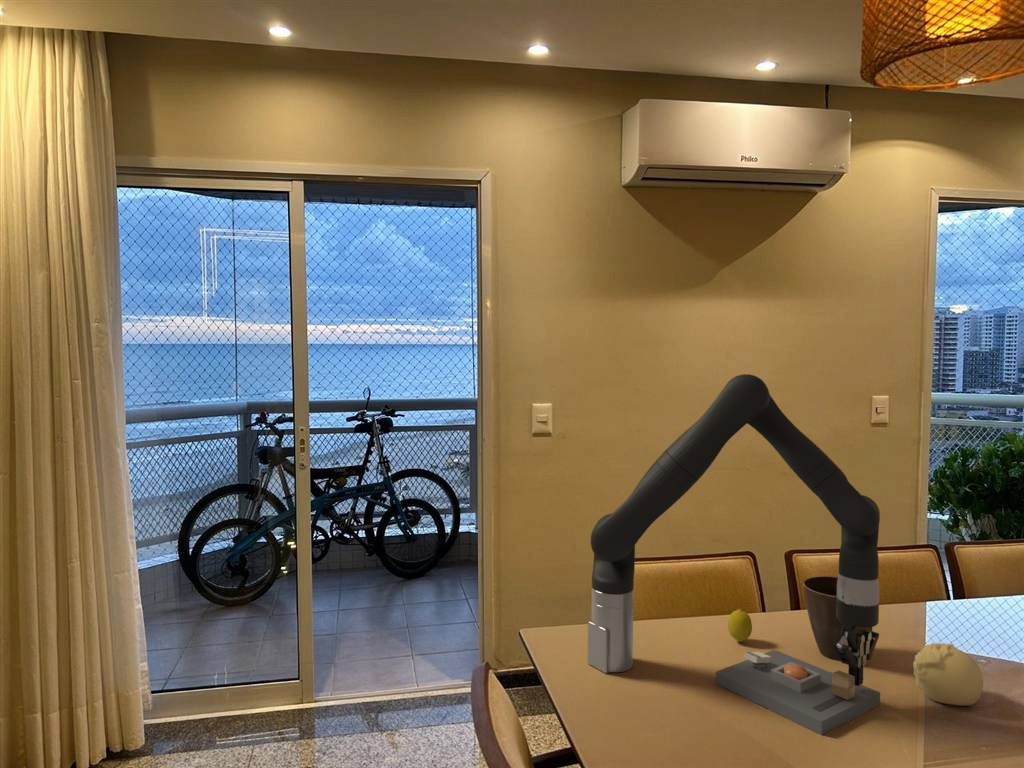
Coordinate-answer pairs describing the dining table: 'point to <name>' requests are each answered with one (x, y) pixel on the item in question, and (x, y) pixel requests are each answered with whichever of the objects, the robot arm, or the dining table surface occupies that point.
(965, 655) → the sculpture
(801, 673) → the push button
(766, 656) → the rocker switch
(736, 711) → the dining table surface
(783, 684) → the control panel
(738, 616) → the lemon
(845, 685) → the slide paddle
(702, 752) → the dining table surface
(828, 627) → the plant pot
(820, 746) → the dining table surface
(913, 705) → the dining table surface
